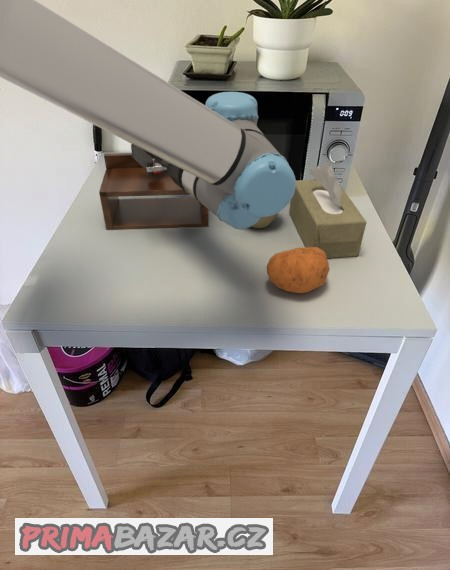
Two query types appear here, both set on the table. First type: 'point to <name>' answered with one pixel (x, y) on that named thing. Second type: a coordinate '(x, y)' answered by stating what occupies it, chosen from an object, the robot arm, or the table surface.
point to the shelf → (149, 211)
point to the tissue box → (327, 215)
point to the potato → (298, 269)
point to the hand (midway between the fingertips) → (140, 133)
